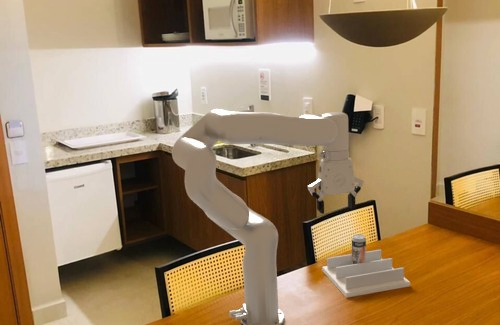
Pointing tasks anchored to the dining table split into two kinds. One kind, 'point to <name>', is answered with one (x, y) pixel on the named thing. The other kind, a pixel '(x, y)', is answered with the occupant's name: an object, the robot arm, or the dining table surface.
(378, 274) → the drying rack
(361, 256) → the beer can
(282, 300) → the dining table surface
